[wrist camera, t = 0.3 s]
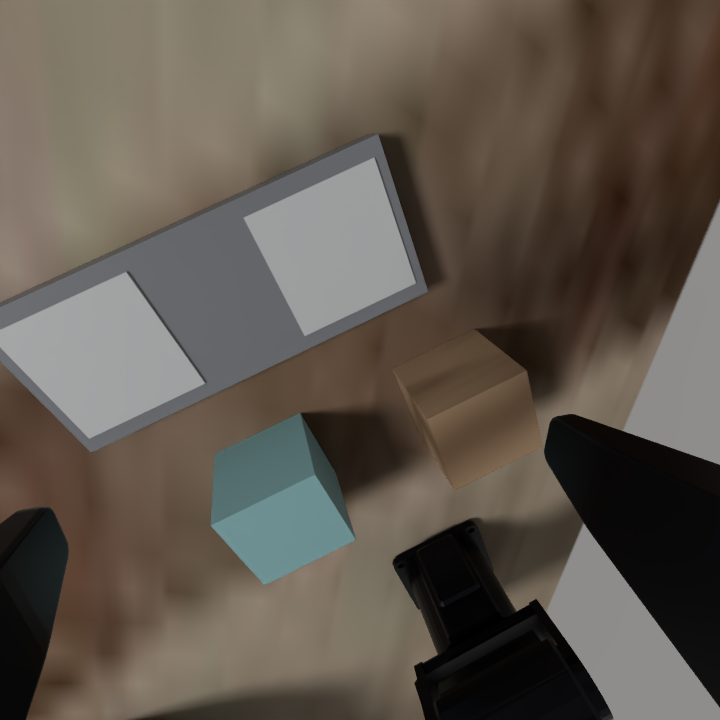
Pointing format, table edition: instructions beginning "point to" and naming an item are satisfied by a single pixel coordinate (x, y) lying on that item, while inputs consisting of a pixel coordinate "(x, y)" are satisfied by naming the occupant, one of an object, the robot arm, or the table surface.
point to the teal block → (278, 500)
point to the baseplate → (215, 296)
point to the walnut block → (470, 406)
